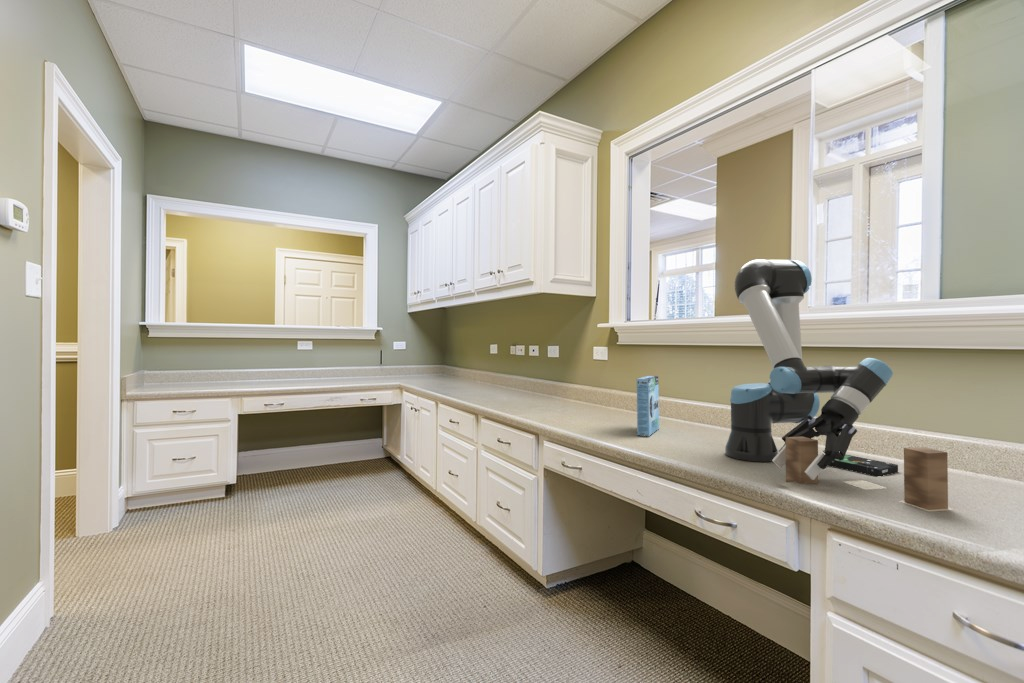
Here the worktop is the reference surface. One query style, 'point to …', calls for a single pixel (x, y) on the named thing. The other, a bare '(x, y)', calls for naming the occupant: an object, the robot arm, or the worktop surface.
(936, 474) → the built post
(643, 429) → the light blue cardboard box
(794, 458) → the post
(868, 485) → the board
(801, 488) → the worktop surface
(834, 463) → the disk drive
